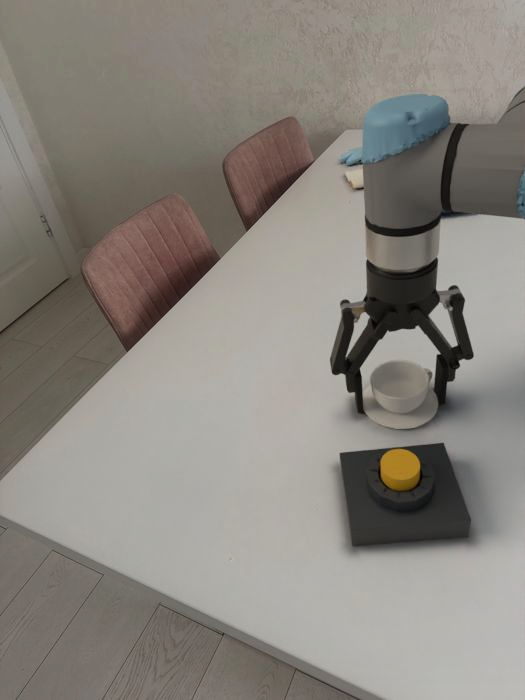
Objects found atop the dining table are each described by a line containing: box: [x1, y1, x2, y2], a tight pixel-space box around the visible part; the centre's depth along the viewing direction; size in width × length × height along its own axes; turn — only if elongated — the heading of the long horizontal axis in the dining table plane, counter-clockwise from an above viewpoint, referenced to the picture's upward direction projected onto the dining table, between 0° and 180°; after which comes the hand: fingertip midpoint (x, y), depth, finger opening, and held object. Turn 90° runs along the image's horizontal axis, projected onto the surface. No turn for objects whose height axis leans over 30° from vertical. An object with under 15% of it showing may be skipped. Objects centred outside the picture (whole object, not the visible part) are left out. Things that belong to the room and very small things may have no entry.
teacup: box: [363, 359, 439, 430], centre depth 66 cm, size 10×10×5 cm
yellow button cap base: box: [339, 442, 472, 547], centre depth 55 cm, size 12×10×5 cm
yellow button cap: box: [381, 449, 420, 491], centre depth 53 cm, size 4×4×2 cm
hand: (399, 401), depth 67 cm, fingers closed on teacup, 10 cm apart
